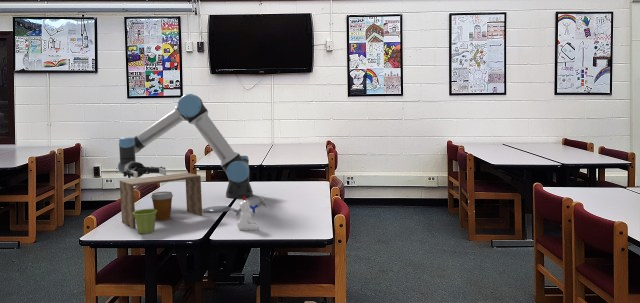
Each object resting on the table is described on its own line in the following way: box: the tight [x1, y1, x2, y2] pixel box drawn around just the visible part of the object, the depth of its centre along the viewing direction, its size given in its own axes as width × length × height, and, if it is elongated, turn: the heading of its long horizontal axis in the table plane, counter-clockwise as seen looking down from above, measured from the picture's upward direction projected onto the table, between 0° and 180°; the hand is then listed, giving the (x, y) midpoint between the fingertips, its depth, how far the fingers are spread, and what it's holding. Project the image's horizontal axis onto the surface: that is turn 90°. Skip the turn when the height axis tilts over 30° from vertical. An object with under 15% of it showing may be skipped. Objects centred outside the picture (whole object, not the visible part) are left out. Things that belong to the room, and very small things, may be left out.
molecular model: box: [229, 195, 269, 220], centre depth 213 cm, size 18×8×10 cm, turn 111°
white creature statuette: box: [236, 200, 260, 231], centre depth 191 cm, size 10×9×12 cm
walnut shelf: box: [119, 172, 203, 229], centre depth 211 cm, size 14×32×19 cm, turn 132°
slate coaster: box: [202, 205, 232, 214], centre depth 229 cm, size 14×14×1 cm
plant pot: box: [133, 208, 157, 235], centre depth 189 cm, size 9×9×9 cm
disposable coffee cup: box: [150, 191, 174, 221], centre depth 211 cm, size 10×10×12 cm
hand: (151, 173), depth 217 cm, fingers open, 13 cm apart
